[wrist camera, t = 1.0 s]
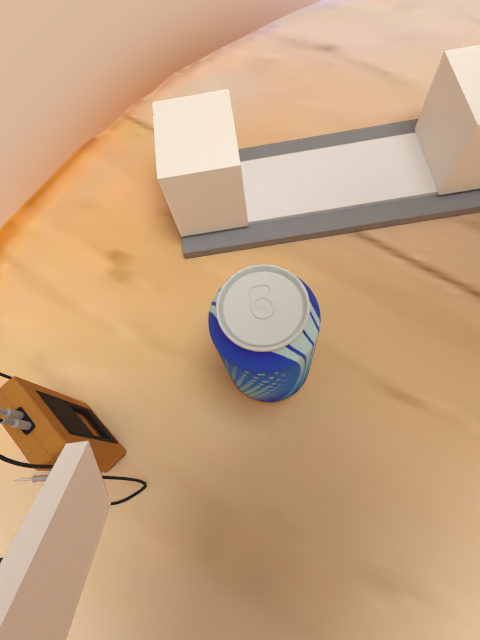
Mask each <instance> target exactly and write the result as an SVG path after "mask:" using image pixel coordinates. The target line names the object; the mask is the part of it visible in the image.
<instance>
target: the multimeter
mask: <svg viewBox="0 0 480 640" xmlns="http://www.w3.org/2000/svg"><path fill="white" fill-rule="evenodd" d="M0 376H3V377H5V378H8V379H10V380H9V381H8V382H6V383H5V384H4V385H3V386H2V387H1V388H0V423H1V424H2V425H3V426H4V428H5V429H6V430H7V432H8V433H9V435H10V436H11V437H12V439H13V440H14V441H15V443H16V444H17V446H18V447H19V448H20V450H21V451H22V452H23V454H24V455H25V457H26V459H27V460H28V461H29V463H30V464H28V463H22V462H18V461H15V460H12V459H9V458H7V457H5V456H3V455H1V454H0V459H1V460H3V461H5V462H8V463H11V464H13V465H17V466H21V467H27V468H35V469H36V470H44V471H51V470H52V468H53V466H54V464H55V463H56V461H57V459H58V457H59V455H60V453H61V452H62V450H63V448H64V446H65V444H68V443H75V442H83V441H89V443H90V446H91V449H92V451H93V454H94V457H95V460H96V462H97V465H98V468H99V471H100V472H107V471H108V470H109V469H110V468H111V467H112V466H113V465H114V464H115V463H116V462H117V461H118V460H119V459H120V458H121V457H122V456H123V455H124V454H125V452H126V451H125V449H124V448H123V447H122V446H121V444H119V442H118V441H117V440H116V439H115V438H114V436H113V435H112V434H111V433H110V432H109V430H108V429H107V428H106V427H105V426H104V424H103V423H102V422H101V421H100V420H99V418H98V417H97V416H96V415H95V414H94V412H93V411H92V410H91V408H90V407H89V406H88V405H87V404H86V403H83V402H81V401H78V400H76V399H73V398H70V397H68V396H65V395H63V394H60V393H58V392H55V391H52V390H50V389H47V388H45V387H42V386H39V385H37V384H34V383H31V382H29V381H26V380H23V379H21V378H18V377H10V376H8V375H5V374H3V373H0ZM47 477H48V475H43V476H33V477H32V478H26V479H17V480H14V481H26V480H32V482H35V481H44V480H46V479H47ZM102 479H117V480H128V481H136V482H140V483H142V484H144V486H143V487H142V488H141V489H140V490H138V491H137V492H136V493H134V494H132V495H131V496H129V497H127V498H125V499H123V500H120V501H118V502H111V505H115V504H119V503H122V502H125V501H127V500H129V499H130V498H132V497H134V496H135V495H137V494H138V493H140V492H141V491H143V490H144V489H145V488H146V482H144V481H142V480H139V479H134V478H126V477H115V476H102Z"/></svg>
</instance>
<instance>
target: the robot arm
mask: <svg viewBox="0 0 480 640" xmlns="http://www.w3.org/2000/svg"><path fill="white" fill-rule="evenodd" d="M110 505H111V501H110V498H109V495H108V493H107V490H106V487H105V484H104V482H103V479H102V476H101V473H100V471H99V468H98V465H97V462H96V460H95V457H94V454H93V451H92V449H91V446H90V443H89V441H83V442H75V443H68V444H65V446H64V448H63V450H62V452H61V453H60V455H59V457H58V459H57V461H56V463H55V464H54V466H53V468H52V470H51V472H50V474H49V475H48V477H47V479H46V481H45V483H44V485H43V486H42V488H41V490H40V492H39V494H38V496H37V497H36V499H35V501H34V503H33V505H32V507H31V508H30V510H29V512H28V514H27V516H26V518H25V519H24V521H23V523H22V525H21V527H20V529H19V530H18V532H17V534H16V536H15V538H14V540H13V541H12V543H11V545H10V547H9V549H8V551H7V552H6V554H5V556H4V558H0V640H66V638H67V635H68V632H69V629H70V626H71V623H72V620H73V617H74V614H75V611H76V608H77V605H78V602H79V599H80V595H81V592H82V589H83V586H84V583H85V580H86V577H87V574H88V571H89V568H90V565H91V562H92V559H93V556H94V553H95V550H96V547H97V544H98V541H99V538H100V535H101V532H102V529H103V526H104V523H105V520H106V517H107V514H108V511H109V508H110Z"/></svg>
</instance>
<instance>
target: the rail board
mask: <svg viewBox="0 0 480 640" xmlns="http://www.w3.org/2000/svg"><path fill="white" fill-rule="evenodd" d="M152 105H153V121H154V137H155V153H156V168H157V180H158V182H159V185H160V187H161V189H162V192H163V194H164V197H165V199H166V202H167V204H168V206H169V209H170V211H171V214H172V216H173V218H174V221H175V223H176V226H177V228H178V230H179V233H180V235H181V237H182V244H183V254H184V256H185V259H187V258H193V257H200V256H206V255H212V254H218V253H225V252H231V251H237V250H244V249H250V248H256V247H262V246H269V245H275V244H281V243H288V242H294V241H300V240H307V239H313V238H319V237H325V236H332V235H338V234H344V233H351V232H357V231H363V230H369V229H376V228H382V227H388V226H395V225H401V224H407V223H414V222H420V221H426V220H432V219H439V218H445V217H451V216H458V215H464V214H470V213H476V212H480V45H475V46H469V47H464V48H458V49H452V50H447V51H444V54H443V56H442V59H441V61H440V64H439V67H438V69H437V72H436V74H435V77H434V80H433V82H432V85H431V87H430V90H429V93H428V95H427V98H426V101H425V103H424V106H423V108H422V111H421V114H420V116H419V119H415V120H409V121H403V122H397V123H391V124H386V125H380V126H374V127H368V128H362V129H356V130H350V131H344V132H338V133H332V134H326V135H321V136H315V137H309V138H303V139H297V140H291V141H285V142H279V143H273V144H267V145H261V146H256V147H250V148H244V149H238V145H237V139H236V132H235V126H234V120H233V114H232V107H231V101H230V95H229V89H225V90H219V91H213V92H208V93H202V94H196V95H191V96H185V97H179V98H173V99H168V100H162V101H156V102H152Z"/></svg>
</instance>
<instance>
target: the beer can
mask: <svg viewBox="0 0 480 640" xmlns="http://www.w3.org/2000/svg"><path fill="white" fill-rule="evenodd" d="M320 322H321V320H320V310H319V306H318V303H317V300H316V298H315V296H314V294H313V293H312V291H311V290H310V288H309V287H308V286H307V285H306V284H305V283H304V282H303V281H302V280H301V279H299V278H298V277H297V276H295V275H294V274H293V273H291V272H290V271H288V270H286V269H284V268H282V267H279V266H275V265H270V264H258V265H252V266H249V267H246V268H243V269H241V270H239V271H238V272H236V273H235V274H233V275H232V276H231V277H230V278H229V279H228V280H227V281H226V282H225V283H224V285H223V286H222V287H221V288H220V289H219V291H218V292H217V294H216V295H215V297H214V299H213V301H212V304H211V307H210V311H209V331H210V335H211V338H212V341H213V343H214V345H215V347H216V349H217V351H218V353H219V355H220V357H221V359H222V361H223V363H224V365H225V367H226V369H227V371H228V373H229V375H230V377H231V379H232V381H233V382H234V384H235V385H236V387H237V388H238V389H239V390H240V391H241V392H242V393H244V394H245V395H246V396H248V397H250V398H252V399H255V400H258V401H263V402H275V401H280V400H283V399H286V398H288V397H290V396H291V395H293V394H294V393H295V392H297V391H298V390H299V389H300V387H301V386H302V385H303V383H304V382H305V380H306V378H307V376H308V372H309V369H310V365H311V361H312V357H313V353H314V350H315V346H316V342H317V338H318V334H319V330H320Z"/></svg>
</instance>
